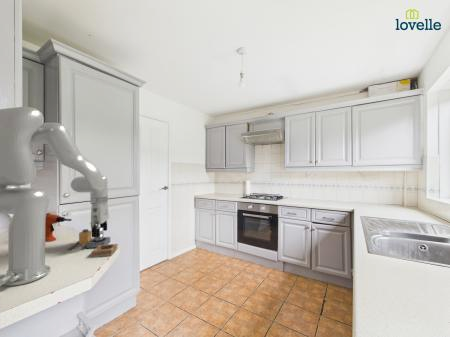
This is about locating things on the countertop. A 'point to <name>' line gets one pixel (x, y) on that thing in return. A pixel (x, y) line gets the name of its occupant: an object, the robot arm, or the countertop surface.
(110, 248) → the wooden square tray
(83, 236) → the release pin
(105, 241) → the socket
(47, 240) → the toy drill
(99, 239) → the silver metal cylinder
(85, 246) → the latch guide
